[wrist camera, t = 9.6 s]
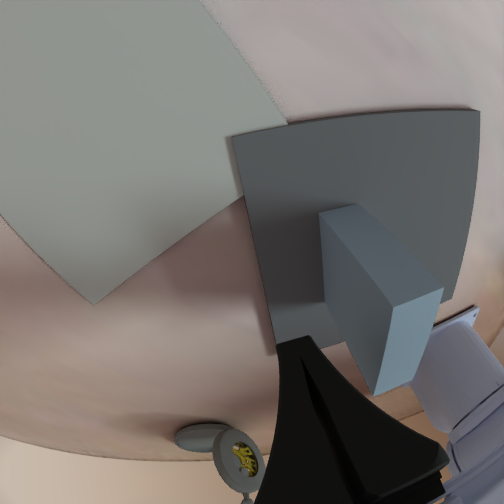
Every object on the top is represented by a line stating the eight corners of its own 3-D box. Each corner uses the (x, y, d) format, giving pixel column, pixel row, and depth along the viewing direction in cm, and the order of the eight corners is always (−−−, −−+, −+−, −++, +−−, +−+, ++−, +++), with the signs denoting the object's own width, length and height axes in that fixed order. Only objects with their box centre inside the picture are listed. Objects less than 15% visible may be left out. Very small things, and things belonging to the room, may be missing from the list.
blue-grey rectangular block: (357, 291, 18) (412, 379, 12) (324, 301, 18) (373, 396, 12) (358, 203, 15) (444, 286, 9) (318, 213, 14) (393, 307, 9)
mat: (447, 294, 21) (451, 298, 21) (278, 354, 21) (280, 360, 20) (473, 109, 13) (480, 111, 13) (230, 135, 12) (231, 137, 12)
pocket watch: (169, 442, 27) (176, 525, 18) (183, 408, 23) (192, 516, 14) (241, 445, 29) (257, 522, 21) (270, 412, 25) (295, 507, 17)
